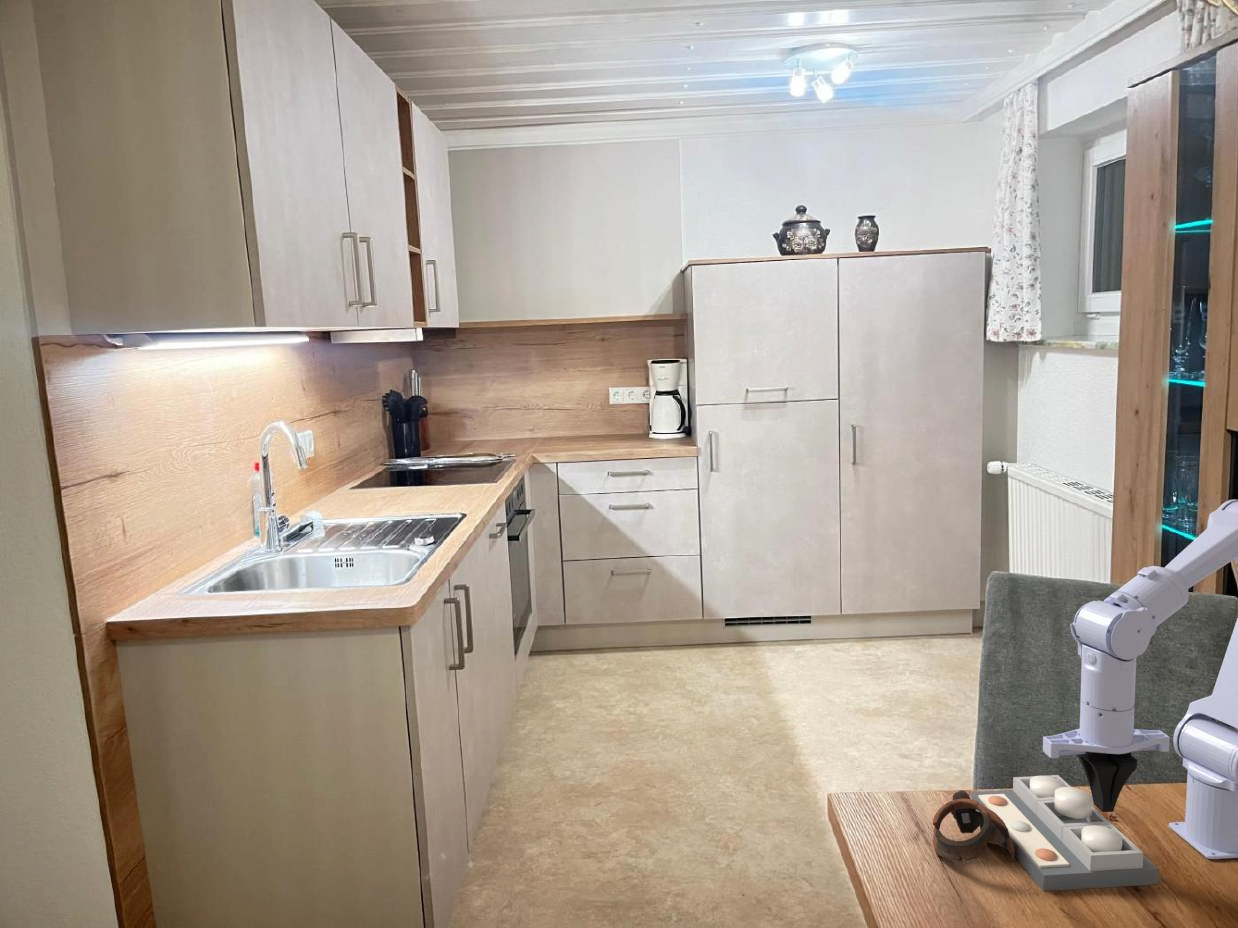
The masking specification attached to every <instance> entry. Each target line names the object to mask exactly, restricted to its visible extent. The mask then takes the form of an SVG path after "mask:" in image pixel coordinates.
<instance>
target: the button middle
mask: <svg viewBox="0 0 1238 928" xmlns="http://www.w3.org/2000/svg"><path fill="white" fill-rule="evenodd" d="M1092 807H1094V803H1093V798H1092V794H1091V793H1089V792H1088V791H1086V790H1083V789H1080V788H1077V787H1072V786H1071V787H1061V788H1058V789H1056V790H1055V801H1054V808H1055V810H1056V811H1057V812H1059V813H1060V814H1062V815H1064V816H1067V817H1071V818H1077V819H1084V818H1089V817H1090V816H1091V815H1092Z"/></svg>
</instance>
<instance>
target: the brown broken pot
mask: <svg viewBox="0 0 1238 928" xmlns="http://www.w3.org/2000/svg"><path fill="white" fill-rule="evenodd" d="M976 809H977V810H979V811H980V812H978V811H976ZM949 814H951V815H952V817H953V819H954V820H955V821H956V825H957V827H958V828H959V833H961V834H973V833H974V832H975V831H976V830H978V828H980V830H979V831H978V833H977V834H976V835H974V836H972V837H970V838H968V839H965V840H964V839H963V840H953V839H950V838H947V837H946V836H945V835H944V834H942V832H941V830H940V829H941V824H942V822H943V820H944V819H945V818H946V817H947V816H948V815H949ZM933 816H934V817H933V819H932V825H933V826H934V828H933V837H932V845H933V850H934V852H935V855H936V856H937V858H939V857H942V858H945V859H947V860H951V861H955V862H958V863H962V861H965V862H969V861H972V860H973V861H974V860H978V859H984V860H987V861H991V859H992V858H991V857H990V852H989V848H988V843H990V844H992V845H996V844H998V845H1001V846H1003V847H1005V849H1007V850H1008V852H1009V854H1010V858H1011V859H1010V860H1011V862H1012V863H1015V862H1016V861H1017V859H1016V858H1015V851H1014V846H1013V843H1012V841H1011V839H1010V836H1009V832H1008V829H1007V827H1006V825H1005V823H1004V822H1003V820H1002V819H1001V818H1000V817H999V816H998V815H997V814H996V813H995V812H993V811H992V810H990V809H988V808H986V807H984V806H983V805H982V804H980V803H979V802H977V801H974V800H971V797H970V795H969V794H968V793H967V792H966V791H965V790H959V791H956V792H955V793H954V794H953V795H952V800H950V801H948V802H947V803H945V804H943V805H942V806H941V807H940V808H939V809H938V810H937V811H936V813H935V814H934V815H933Z"/></svg>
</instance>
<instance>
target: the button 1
mask: <svg viewBox="0 0 1238 928" xmlns="http://www.w3.org/2000/svg"><path fill="white" fill-rule="evenodd" d="M1061 787H1065V784H1064V783H1063V782H1062V781H1061V780H1059V779H1056V778H1053V777H1049V775H1034V777H1032V778H1031V779H1030V790H1031V791H1032V792H1033V793H1034V794H1035V795H1036V796H1037V797H1038V798H1046V797H1055V790H1056V789H1058V788H1061Z"/></svg>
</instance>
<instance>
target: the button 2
mask: <svg viewBox="0 0 1238 928" xmlns="http://www.w3.org/2000/svg"><path fill="white" fill-rule="evenodd" d="M1081 841H1082V842H1083V843H1084V844H1085V845H1086V846H1087V847H1088V848H1089V849H1090V850H1091V851H1092V852H1111V851H1122V836H1121V835H1120V834H1119V833H1117V832H1116V831H1114V830H1112V829H1110V828H1107V827H1103V826H1096V825H1091V826H1086V827H1084V828H1083V829H1082V836H1081Z"/></svg>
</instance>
